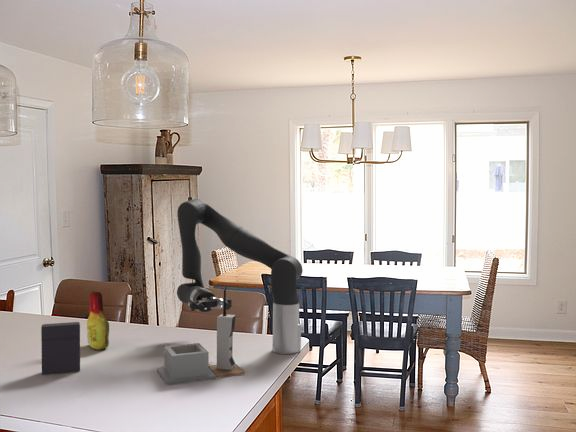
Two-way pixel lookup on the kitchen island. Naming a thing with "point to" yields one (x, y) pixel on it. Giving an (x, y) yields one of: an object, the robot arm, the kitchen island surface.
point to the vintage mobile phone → (225, 339)
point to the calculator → (60, 348)
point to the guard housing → (185, 364)
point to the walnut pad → (226, 371)
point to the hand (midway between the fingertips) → (216, 307)
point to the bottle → (97, 323)
